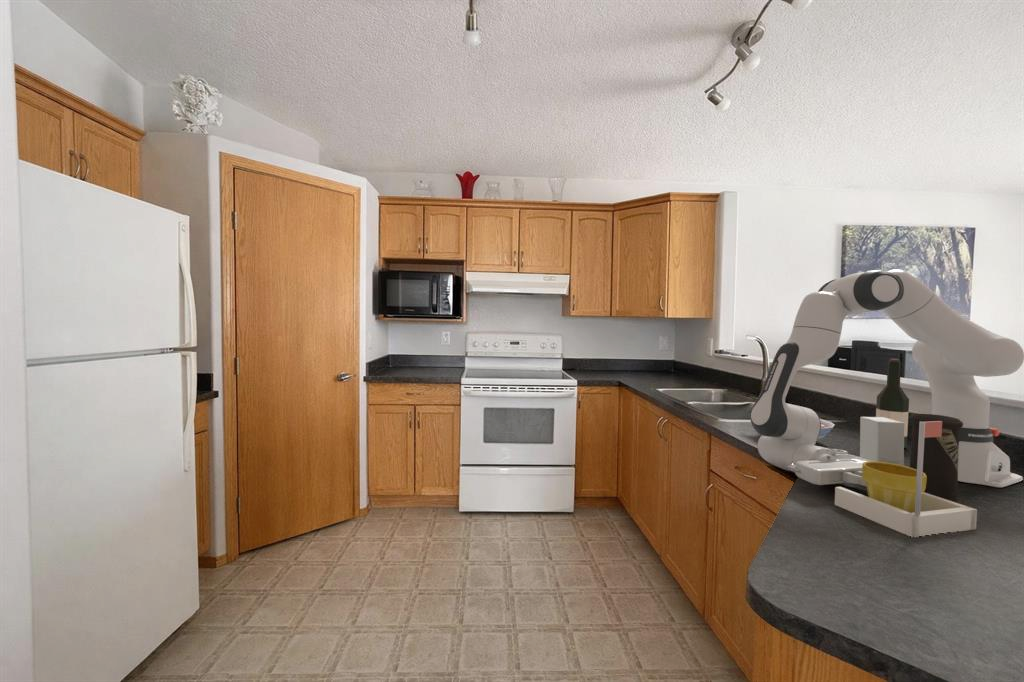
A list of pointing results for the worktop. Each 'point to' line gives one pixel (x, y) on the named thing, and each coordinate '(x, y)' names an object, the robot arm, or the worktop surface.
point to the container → (938, 455)
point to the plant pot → (892, 484)
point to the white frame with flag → (929, 509)
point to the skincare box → (882, 440)
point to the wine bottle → (893, 398)
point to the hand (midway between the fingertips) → (872, 482)
